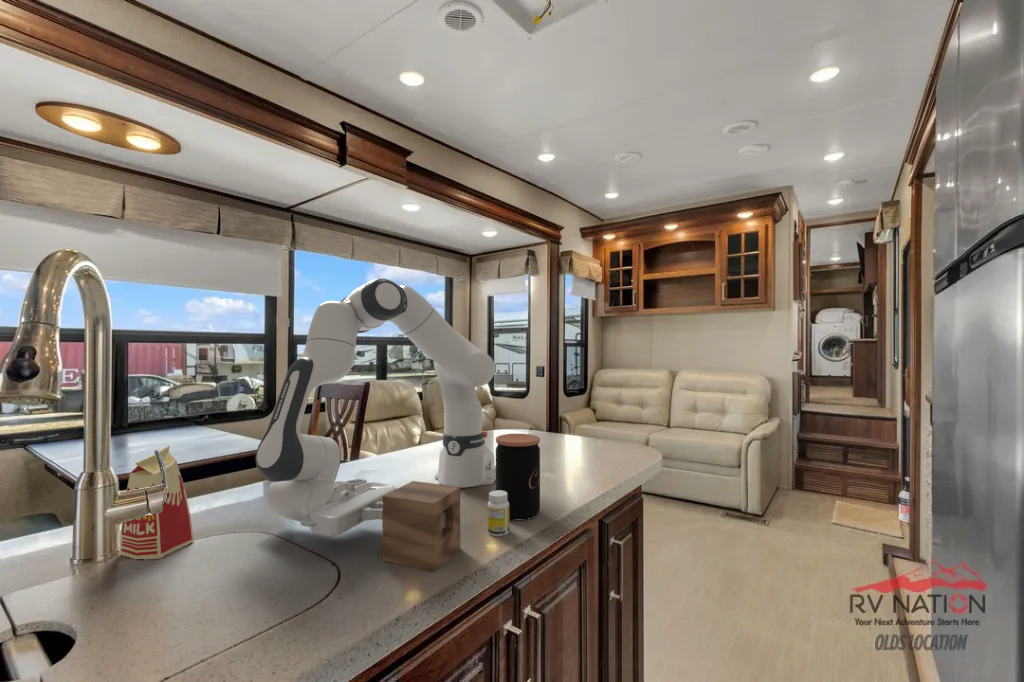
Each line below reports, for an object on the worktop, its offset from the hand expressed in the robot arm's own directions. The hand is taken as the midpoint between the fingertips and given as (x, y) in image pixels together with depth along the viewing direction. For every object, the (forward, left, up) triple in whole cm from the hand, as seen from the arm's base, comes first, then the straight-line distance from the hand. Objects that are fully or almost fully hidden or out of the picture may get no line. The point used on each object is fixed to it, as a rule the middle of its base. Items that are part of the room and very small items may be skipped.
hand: (389, 513), depth 91 cm
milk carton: (+17, -43, -7) cm, 47 cm away
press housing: (0, +8, -7) cm, 10 cm away
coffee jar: (-27, +17, -7) cm, 33 cm away
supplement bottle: (-15, +17, -7) cm, 24 cm away
